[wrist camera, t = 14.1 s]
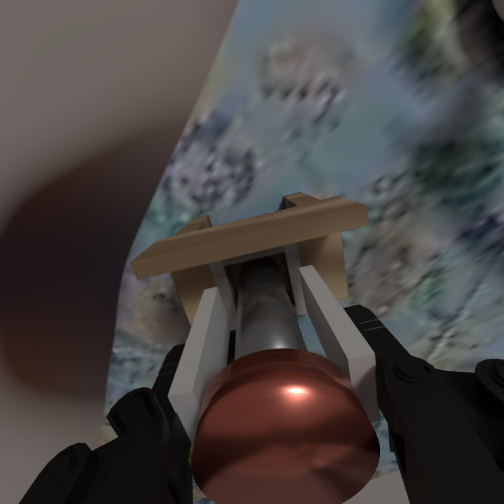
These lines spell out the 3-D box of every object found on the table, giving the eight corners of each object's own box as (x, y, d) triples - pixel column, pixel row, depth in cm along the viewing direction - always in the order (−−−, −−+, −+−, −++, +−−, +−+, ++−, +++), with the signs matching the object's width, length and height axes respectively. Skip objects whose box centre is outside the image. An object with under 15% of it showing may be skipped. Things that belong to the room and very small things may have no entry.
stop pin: (297, 294, 17) (385, 502, 6) (236, 307, 17) (221, 531, 7) (285, 234, 16) (373, 376, 5) (218, 250, 16) (163, 418, 5)
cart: (321, 281, 25) (379, 364, 14) (214, 305, 26) (192, 403, 15) (307, 188, 22) (367, 205, 11) (185, 218, 23) (129, 262, 12)
